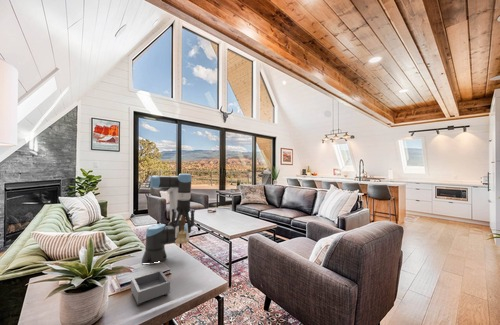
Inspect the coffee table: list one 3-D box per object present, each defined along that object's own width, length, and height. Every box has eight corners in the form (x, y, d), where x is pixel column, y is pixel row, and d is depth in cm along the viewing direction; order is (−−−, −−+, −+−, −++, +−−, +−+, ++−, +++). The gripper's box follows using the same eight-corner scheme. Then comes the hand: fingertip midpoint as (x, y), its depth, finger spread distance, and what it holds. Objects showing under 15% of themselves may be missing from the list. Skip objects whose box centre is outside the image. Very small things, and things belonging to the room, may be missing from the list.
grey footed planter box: (130, 292, 102) (131, 278, 102) (160, 283, 111) (160, 270, 112) (137, 308, 92) (138, 292, 92) (169, 296, 101) (170, 281, 101)
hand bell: (173, 239, 128) (175, 213, 128) (187, 238, 131) (188, 212, 132) (175, 244, 120) (177, 216, 120) (190, 242, 124) (191, 215, 124)
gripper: (165, 199, 123) (163, 238, 123) (197, 201, 122) (195, 241, 121) (171, 197, 131) (169, 234, 130) (201, 199, 129) (199, 236, 129)
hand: (182, 237), depth 126 cm, fingers closed on hand bell, 6 cm apart
